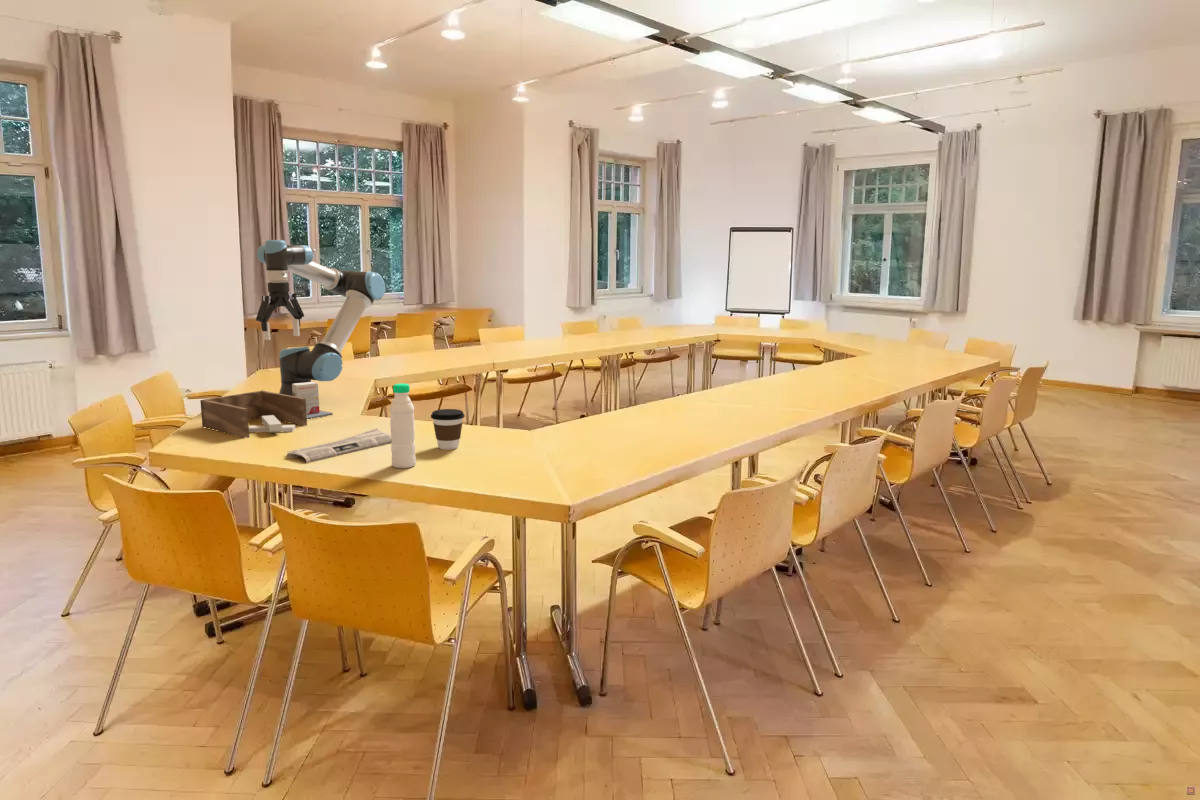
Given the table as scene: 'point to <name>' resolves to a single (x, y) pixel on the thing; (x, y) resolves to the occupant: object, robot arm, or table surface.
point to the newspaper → (342, 446)
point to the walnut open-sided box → (250, 410)
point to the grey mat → (318, 414)
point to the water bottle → (402, 428)
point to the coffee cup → (447, 427)
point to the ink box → (308, 395)
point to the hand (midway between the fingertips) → (282, 337)
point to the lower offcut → (263, 429)
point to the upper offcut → (272, 423)
